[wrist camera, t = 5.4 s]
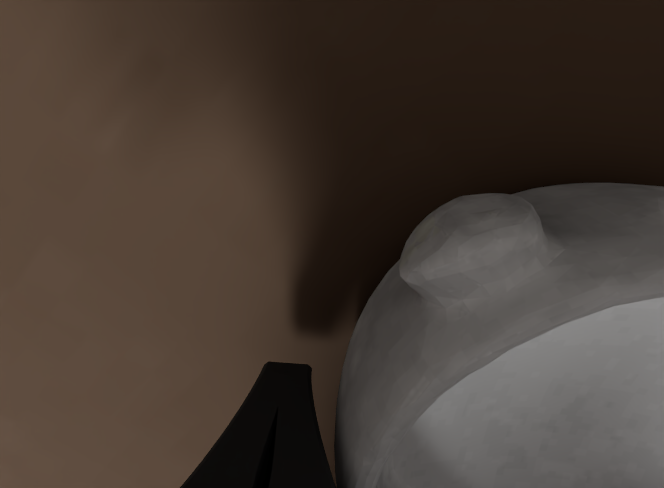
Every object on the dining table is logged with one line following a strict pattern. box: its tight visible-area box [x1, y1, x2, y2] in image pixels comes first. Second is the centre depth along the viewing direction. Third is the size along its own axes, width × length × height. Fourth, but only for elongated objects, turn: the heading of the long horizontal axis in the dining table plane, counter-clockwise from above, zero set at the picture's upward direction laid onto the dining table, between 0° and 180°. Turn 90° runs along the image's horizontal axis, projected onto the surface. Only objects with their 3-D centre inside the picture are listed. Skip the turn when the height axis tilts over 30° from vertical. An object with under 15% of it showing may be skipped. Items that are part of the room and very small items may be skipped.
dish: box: [334, 183, 664, 488], centre depth 10 cm, size 14×14×5 cm
